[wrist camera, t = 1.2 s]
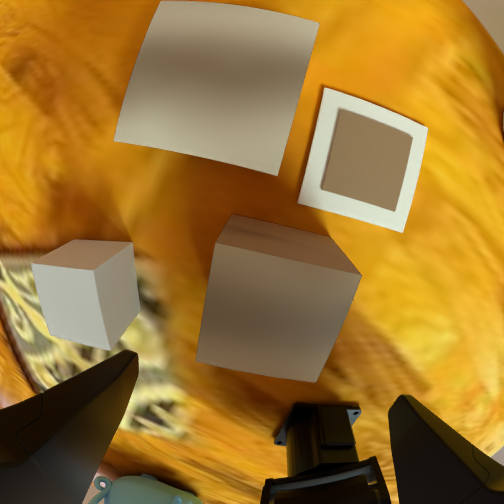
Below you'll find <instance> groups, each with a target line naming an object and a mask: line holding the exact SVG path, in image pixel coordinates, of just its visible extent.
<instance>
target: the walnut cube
mask: <svg viewBox="0 0 504 504" xmlns="http://www.w3.org/2000/svg"><path fill="white" fill-rule="evenodd" d="M361 277H362V275H361V274H360V272H359V271H358V270H357V269H356V267H355V266H354V265H353V264H352V262H351V261H350V260H349V259H348V257H347V256H346V255H345V254H344V252H343V251H342V250H341V249H340V248H339V246H338V245H337V244H336V243H335V242H334V240H333V239H332V238H331V237H329V236H325V235H321V234H317V233H312V232H308V231H304V230H300V229H296V228H292V227H288V226H283V225H279V224H275V223H270V222H266V221H262V220H257V219H253V218H248V217H244V216H239V215H235V214H232V215H231V216H230V218H229V220H228V221H227V223H226V225H225V227H224V228H223V230H222V232H221V234H220V235H219V237H218V239H217V241H216V242H215V247H214V253H213V258H212V263H211V269H210V275H209V280H208V286H207V292H206V298H205V304H204V310H203V316H202V322H201V328H200V335H199V341H198V348H197V355H196V362H200V363H204V364H209V365H213V366H217V367H222V368H227V369H232V370H237V371H242V372H247V373H253V374H258V375H264V376H270V377H277V378H283V379H290V380H298V381H306V382H315V383H316V381H317V379H318V377H319V375H320V373H321V371H322V369H323V367H324V365H325V363H326V360H327V358H328V356H329V354H330V352H331V350H332V348H333V345H334V343H335V341H336V339H337V336H338V334H339V332H340V330H341V327H342V325H343V322H344V320H345V318H346V315H347V313H348V310H349V308H350V305H351V303H352V300H353V298H354V295H355V293H356V290H357V287H358V285H359V282H360V279H361Z"/></svg>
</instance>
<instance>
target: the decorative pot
mask: <svg viewBox="0 0 504 504" xmlns="http://www.w3.org/2000/svg"><path fill="white" fill-rule="evenodd" d="M100 482H104V483H105V484H106V486H105V488H103V487H101V486H100ZM94 485H95V487H96V488H97V489H99V490H101V492H99V493H98V494H97V495H96V496H95V497H93V499H92V500H91V501H90V502H89V503H88V504H97V503H99V502H100V501H101V500H102V499H103V498H104V504H203V503H202V501H201V500H200V499H199V498H197V497H195V495H194V494H193V493H191V492H187V491H182V490H179V489H177V488H174V487H172V486H169V485H167V484H164V483H162V482H159V481H158V480H157V479H156V478H155V477H153V476H151V475H147V474H141V476H123V477H120V478H118V479H116V480H114V481H111V480H110V479H108V478H106V477H103V476H98V477H96V479H95V480H94Z"/></svg>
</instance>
